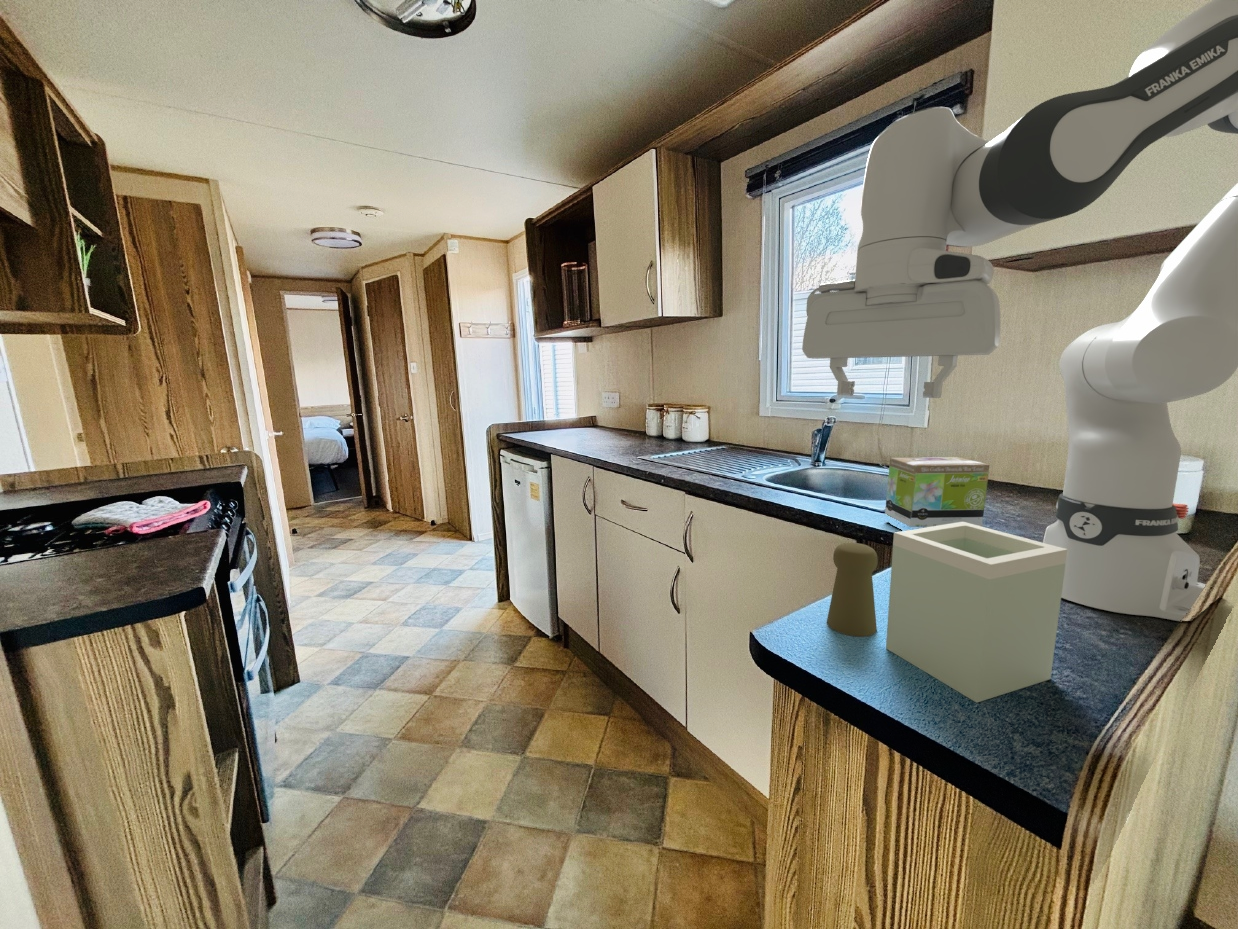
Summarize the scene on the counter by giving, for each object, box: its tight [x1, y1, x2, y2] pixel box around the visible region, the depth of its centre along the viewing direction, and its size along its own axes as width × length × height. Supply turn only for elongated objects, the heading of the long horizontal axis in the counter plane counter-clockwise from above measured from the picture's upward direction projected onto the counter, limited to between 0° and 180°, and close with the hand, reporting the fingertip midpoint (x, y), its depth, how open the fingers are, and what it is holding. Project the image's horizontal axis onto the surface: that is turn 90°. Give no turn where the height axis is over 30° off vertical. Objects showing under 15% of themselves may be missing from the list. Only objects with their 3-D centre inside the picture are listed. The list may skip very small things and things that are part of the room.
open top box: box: [885, 522, 1068, 704], centre depth 56 cm, size 11×11×14 cm
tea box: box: [884, 456, 990, 528], centre depth 105 cm, size 15×10×15 cm
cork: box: [826, 542, 879, 638], centre depth 65 cm, size 6×6×11 cm
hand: (886, 396), depth 59 cm, fingers open, 8 cm apart
